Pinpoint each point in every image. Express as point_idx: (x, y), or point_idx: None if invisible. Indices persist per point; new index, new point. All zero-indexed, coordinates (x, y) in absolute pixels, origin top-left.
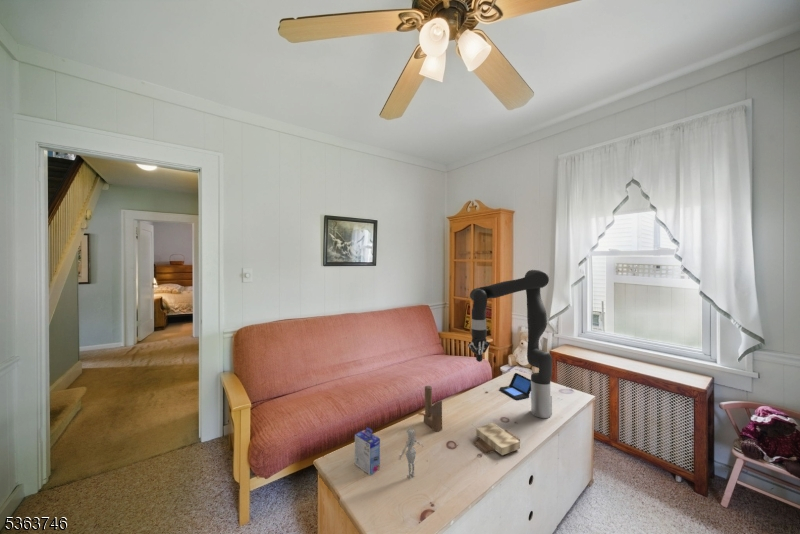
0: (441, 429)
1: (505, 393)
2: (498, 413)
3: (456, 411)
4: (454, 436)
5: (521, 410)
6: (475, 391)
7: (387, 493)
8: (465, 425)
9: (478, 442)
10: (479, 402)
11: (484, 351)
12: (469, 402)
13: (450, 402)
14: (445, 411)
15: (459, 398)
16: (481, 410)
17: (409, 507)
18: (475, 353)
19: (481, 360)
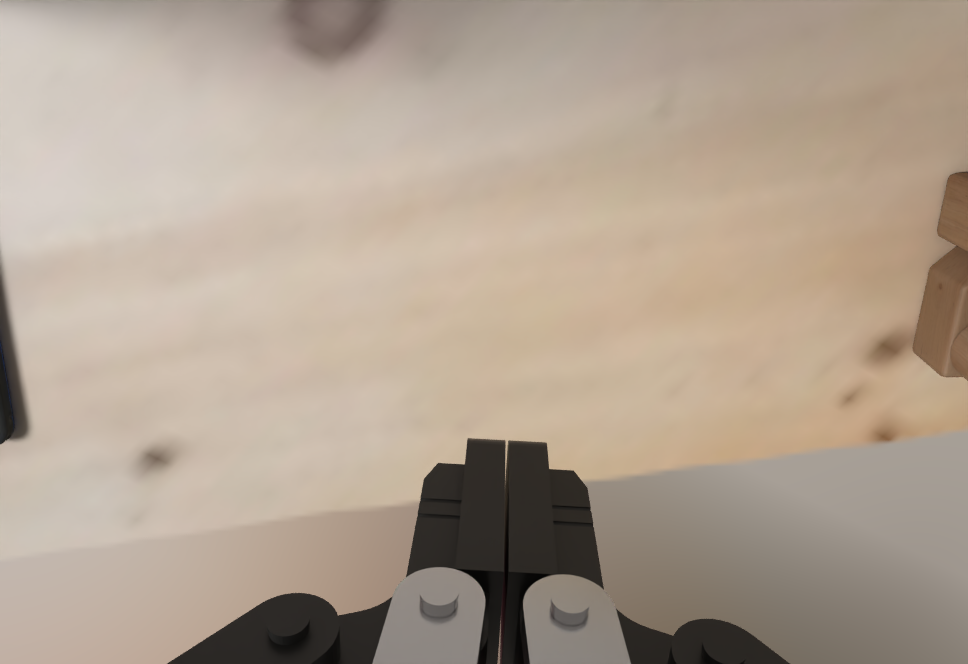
0: (962, 173)
1: (3, 361)
2: (311, 127)
3: (623, 341)
4: (947, 34)
5: (61, 52)
6: (239, 510)
7: None
8: (728, 125)
9: None
10: (336, 358)
11: (307, 626)
12: (416, 399)
13: None
14: (702, 385)
15: None
16: (417, 247)
17: None
18: (749, 655)
19: (478, 447)
